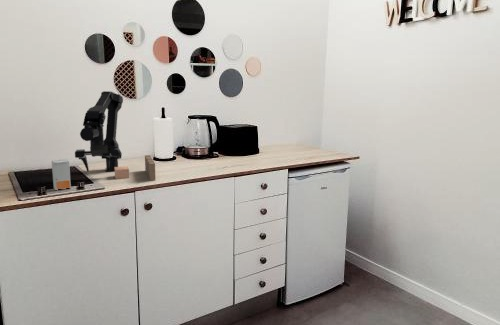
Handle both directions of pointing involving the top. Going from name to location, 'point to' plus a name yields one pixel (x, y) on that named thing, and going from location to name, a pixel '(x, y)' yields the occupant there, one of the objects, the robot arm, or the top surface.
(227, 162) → the top surface
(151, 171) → the walnut board
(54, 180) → the skincare box
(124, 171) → the terracotta block
